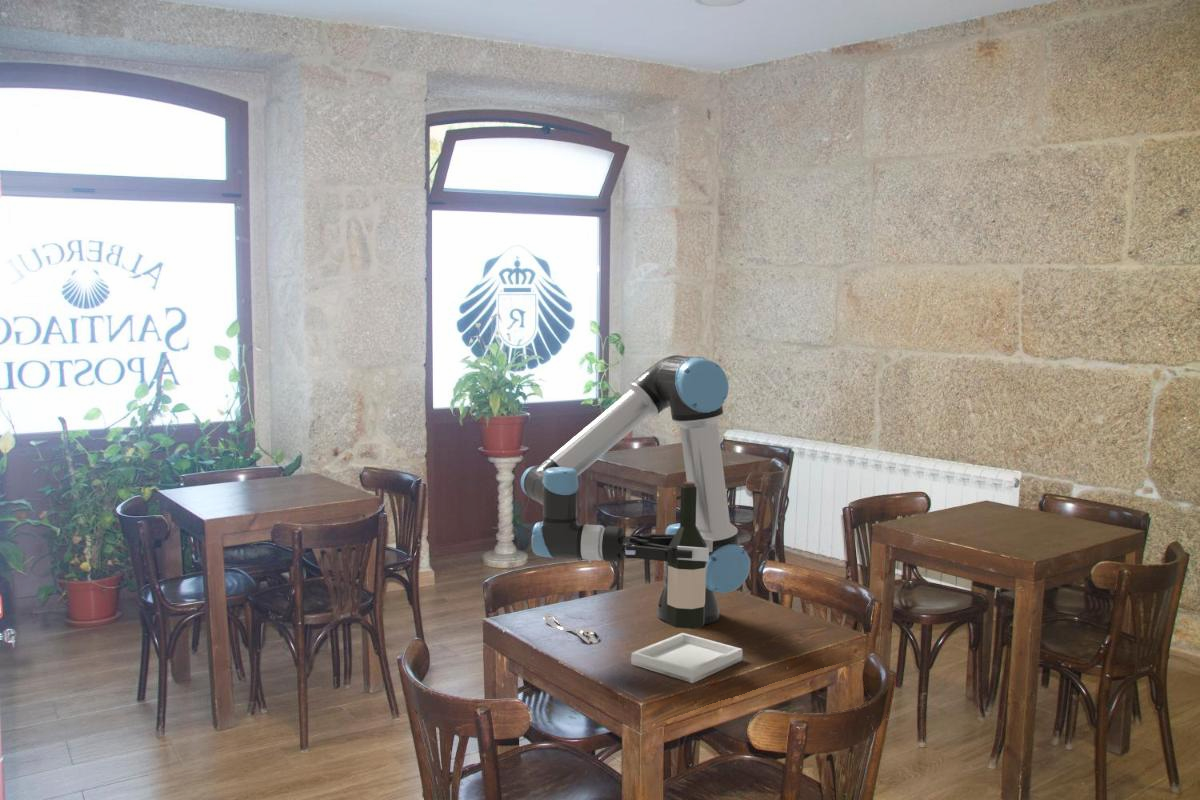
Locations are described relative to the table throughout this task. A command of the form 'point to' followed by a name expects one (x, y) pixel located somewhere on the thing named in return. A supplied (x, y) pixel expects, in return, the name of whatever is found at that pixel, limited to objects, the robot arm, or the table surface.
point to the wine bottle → (687, 569)
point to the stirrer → (584, 633)
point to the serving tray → (686, 657)
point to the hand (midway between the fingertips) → (710, 549)
